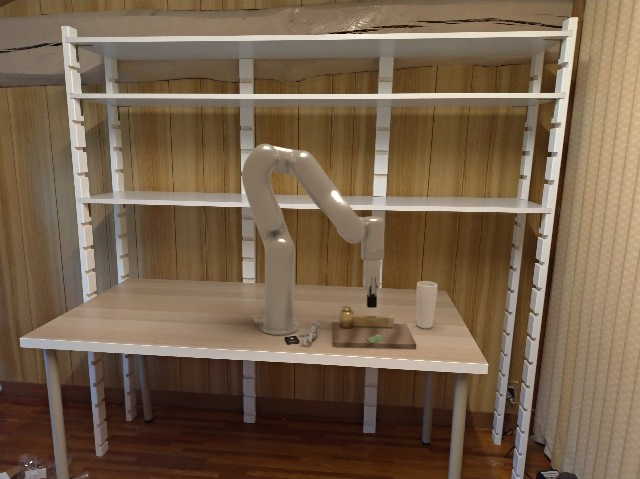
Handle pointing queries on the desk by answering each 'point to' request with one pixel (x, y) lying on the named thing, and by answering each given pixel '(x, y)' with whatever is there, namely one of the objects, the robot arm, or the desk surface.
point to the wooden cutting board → (373, 336)
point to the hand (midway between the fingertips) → (371, 306)
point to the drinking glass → (426, 303)
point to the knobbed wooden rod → (363, 319)
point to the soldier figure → (310, 333)
